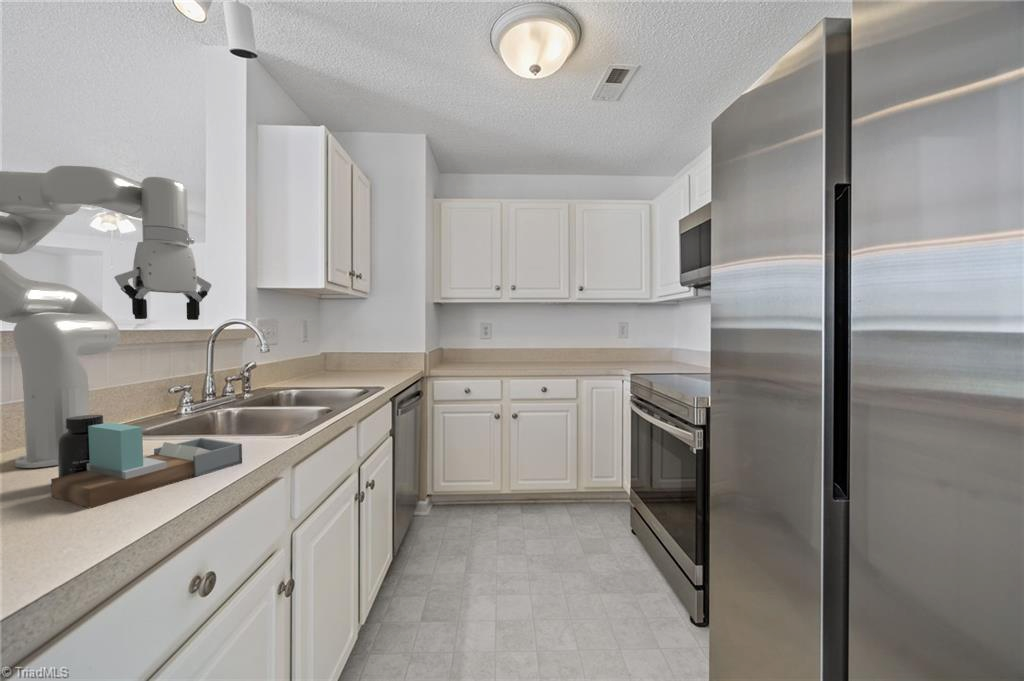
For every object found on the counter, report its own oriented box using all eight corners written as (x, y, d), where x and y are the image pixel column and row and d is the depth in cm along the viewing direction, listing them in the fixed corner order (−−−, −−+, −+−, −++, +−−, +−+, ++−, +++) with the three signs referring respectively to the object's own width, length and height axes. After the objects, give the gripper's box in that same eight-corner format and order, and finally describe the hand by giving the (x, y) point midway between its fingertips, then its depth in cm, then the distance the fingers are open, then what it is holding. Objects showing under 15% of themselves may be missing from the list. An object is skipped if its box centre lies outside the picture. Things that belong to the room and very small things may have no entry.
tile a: (158, 454, 84) (164, 442, 85) (182, 459, 88) (188, 448, 89) (173, 457, 82) (179, 444, 83) (198, 462, 86) (203, 450, 87)
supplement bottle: (78, 489, 74) (75, 421, 73) (48, 487, 75) (45, 420, 75) (121, 476, 80) (119, 413, 80) (93, 474, 82) (91, 412, 82)
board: (51, 496, 71) (51, 479, 71) (156, 468, 85) (155, 454, 84) (90, 508, 66) (89, 489, 66) (194, 476, 80) (193, 460, 80)
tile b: (175, 457, 82) (182, 444, 83) (200, 463, 86) (206, 450, 87) (192, 460, 80) (198, 447, 81) (216, 466, 84) (222, 453, 85)
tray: (154, 468, 85) (154, 448, 85) (202, 455, 93) (201, 437, 93) (195, 476, 80) (195, 455, 80) (242, 462, 88) (241, 443, 88)
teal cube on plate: (86, 470, 75) (85, 425, 75) (128, 460, 80) (126, 418, 80) (125, 479, 70) (124, 431, 70) (166, 468, 76) (165, 423, 76)
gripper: (199, 247, 100) (200, 320, 100) (104, 232, 84) (107, 318, 84) (219, 244, 97) (220, 319, 97) (125, 228, 81) (127, 318, 81)
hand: (168, 319), depth 91 cm, fingers open, 9 cm apart
